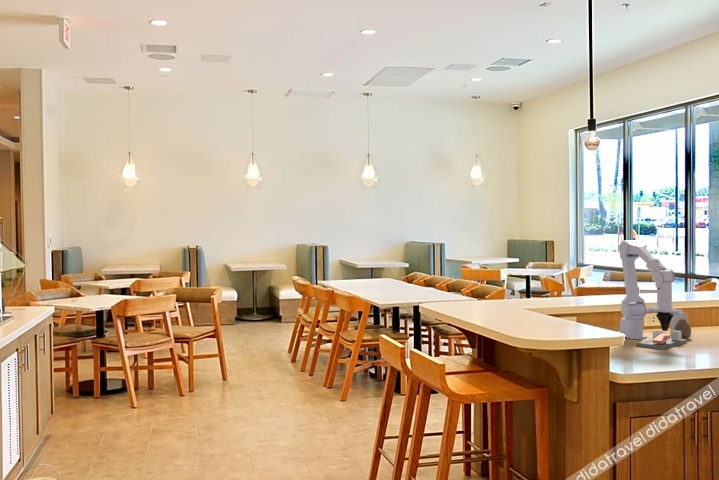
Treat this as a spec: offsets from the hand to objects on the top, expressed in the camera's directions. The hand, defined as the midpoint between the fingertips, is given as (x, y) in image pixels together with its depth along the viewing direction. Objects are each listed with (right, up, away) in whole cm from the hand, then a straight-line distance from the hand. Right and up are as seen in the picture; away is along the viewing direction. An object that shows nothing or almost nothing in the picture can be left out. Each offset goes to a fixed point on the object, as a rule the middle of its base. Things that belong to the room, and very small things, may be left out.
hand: (665, 330), depth 296 cm
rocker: (-2, -4, -1) cm, 4 cm away
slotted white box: (+7, -5, +5) cm, 9 cm away
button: (+4, -5, +12) cm, 13 cm away
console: (0, -7, +4) cm, 8 cm away
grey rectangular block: (+19, -5, +28) cm, 34 cm away
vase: (+15, -6, +16) cm, 23 cm away
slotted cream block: (0, -5, +8) cm, 9 cm away
